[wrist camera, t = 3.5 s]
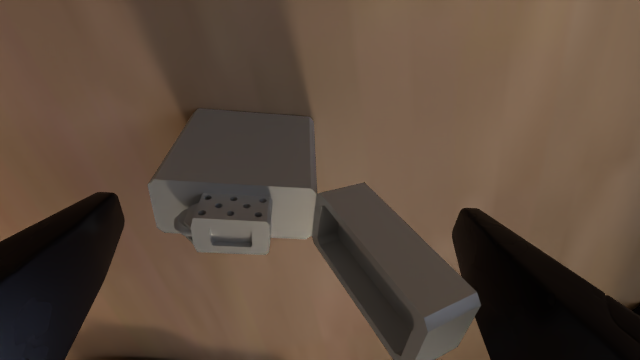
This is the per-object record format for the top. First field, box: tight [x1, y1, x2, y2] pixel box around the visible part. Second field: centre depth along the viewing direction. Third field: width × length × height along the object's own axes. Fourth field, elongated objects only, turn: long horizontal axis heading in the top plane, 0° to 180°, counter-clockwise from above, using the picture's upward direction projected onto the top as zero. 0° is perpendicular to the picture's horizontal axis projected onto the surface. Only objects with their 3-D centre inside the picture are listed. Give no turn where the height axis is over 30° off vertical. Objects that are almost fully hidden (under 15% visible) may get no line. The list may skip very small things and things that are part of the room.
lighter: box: [148, 108, 481, 360], centre depth 9 cm, size 7×2×8 cm, turn 84°
